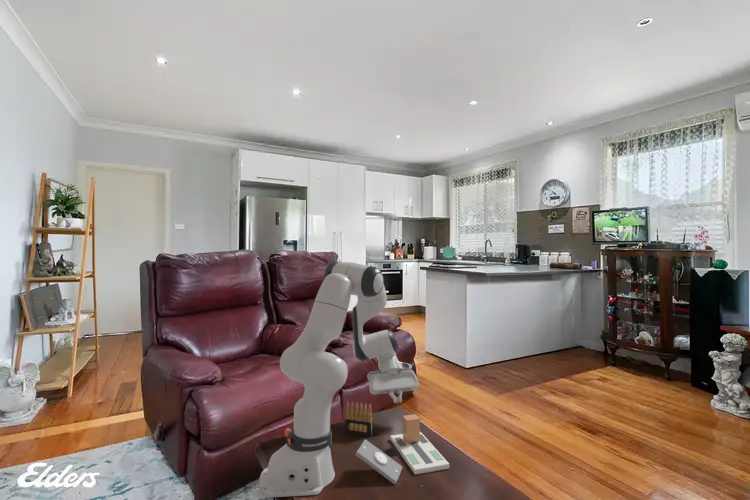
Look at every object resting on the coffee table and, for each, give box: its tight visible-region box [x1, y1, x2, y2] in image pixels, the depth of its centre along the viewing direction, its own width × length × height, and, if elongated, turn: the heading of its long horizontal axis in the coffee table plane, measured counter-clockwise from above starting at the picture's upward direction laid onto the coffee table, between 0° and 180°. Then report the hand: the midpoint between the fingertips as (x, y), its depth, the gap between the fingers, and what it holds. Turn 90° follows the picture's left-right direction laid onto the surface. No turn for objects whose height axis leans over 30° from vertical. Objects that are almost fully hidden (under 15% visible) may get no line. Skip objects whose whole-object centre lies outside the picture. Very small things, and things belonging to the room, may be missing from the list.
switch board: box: [389, 431, 450, 475], centre depth 131 cm, size 12×23×2 cm, turn 17°
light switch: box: [355, 439, 403, 485], centre depth 119 cm, size 8×6×14 cm
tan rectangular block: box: [402, 413, 421, 443], centre depth 136 cm, size 5×4×8 cm
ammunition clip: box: [344, 400, 373, 437], centre depth 145 cm, size 11×2×12 cm, turn 73°
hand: (398, 402), depth 149 cm, fingers closed
